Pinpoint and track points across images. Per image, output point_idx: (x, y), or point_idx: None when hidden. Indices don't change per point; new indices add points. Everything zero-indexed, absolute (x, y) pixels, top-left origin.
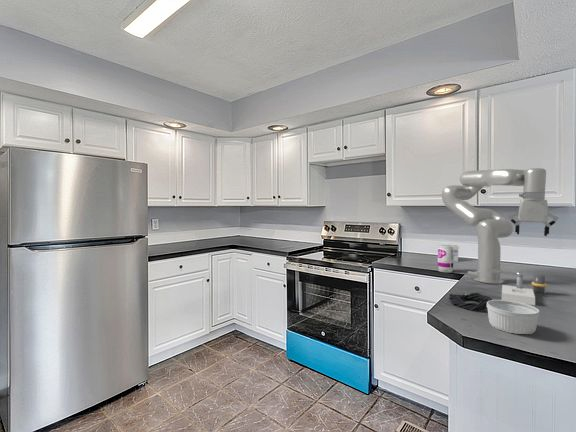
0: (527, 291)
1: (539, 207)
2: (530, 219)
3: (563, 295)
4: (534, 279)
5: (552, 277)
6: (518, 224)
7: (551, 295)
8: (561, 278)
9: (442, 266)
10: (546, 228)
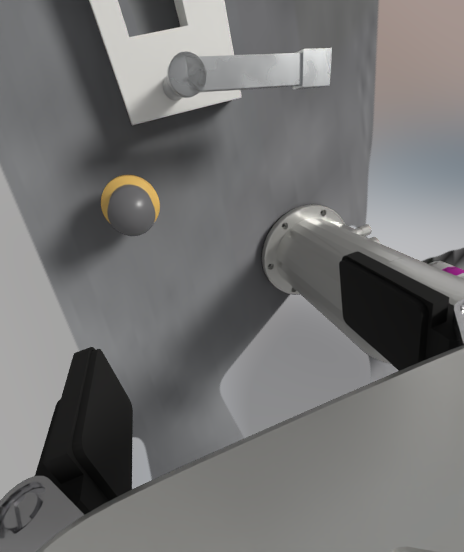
0: (123, 19)
1: None
2: (394, 434)
3: (60, 240)
4: (146, 194)
5: (180, 466)
6: (452, 336)
7: (87, 199)
8: (159, 475)
9: (450, 267)
10: (62, 430)
